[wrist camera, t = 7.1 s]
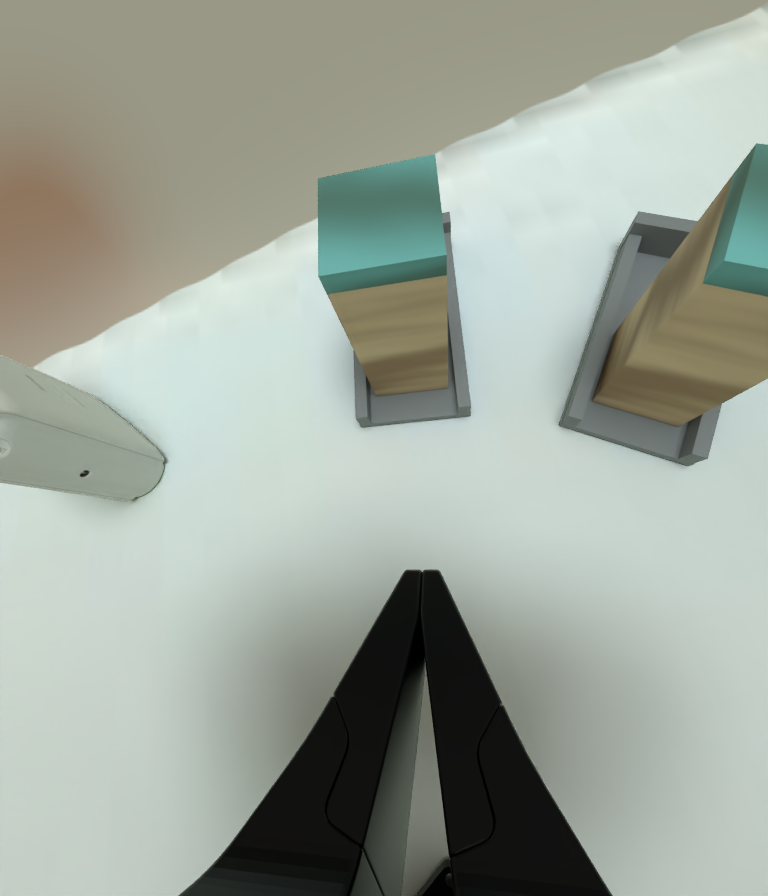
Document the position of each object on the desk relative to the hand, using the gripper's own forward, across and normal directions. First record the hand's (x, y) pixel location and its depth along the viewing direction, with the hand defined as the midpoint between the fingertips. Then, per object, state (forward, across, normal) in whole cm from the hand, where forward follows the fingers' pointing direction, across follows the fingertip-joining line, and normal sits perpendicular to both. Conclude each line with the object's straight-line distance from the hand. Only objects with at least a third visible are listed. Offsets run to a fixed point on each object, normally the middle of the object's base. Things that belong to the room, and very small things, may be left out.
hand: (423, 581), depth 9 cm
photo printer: (+15, +22, +3) cm, 27 cm away
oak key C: (+17, +1, 0) cm, 17 cm away
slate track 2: (+18, -13, 0) cm, 22 cm away
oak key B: (+16, -12, +1) cm, 20 cm away
